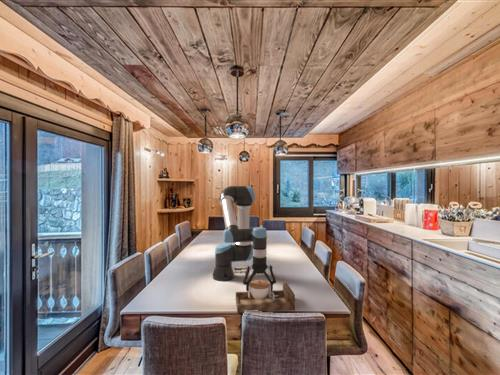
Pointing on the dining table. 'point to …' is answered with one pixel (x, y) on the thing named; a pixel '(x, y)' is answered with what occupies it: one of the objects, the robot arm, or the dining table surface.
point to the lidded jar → (259, 289)
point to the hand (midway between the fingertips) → (259, 296)
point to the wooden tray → (267, 301)
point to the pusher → (273, 296)
